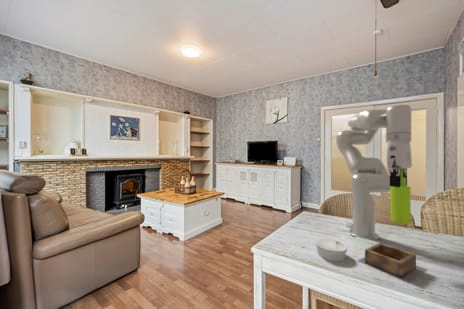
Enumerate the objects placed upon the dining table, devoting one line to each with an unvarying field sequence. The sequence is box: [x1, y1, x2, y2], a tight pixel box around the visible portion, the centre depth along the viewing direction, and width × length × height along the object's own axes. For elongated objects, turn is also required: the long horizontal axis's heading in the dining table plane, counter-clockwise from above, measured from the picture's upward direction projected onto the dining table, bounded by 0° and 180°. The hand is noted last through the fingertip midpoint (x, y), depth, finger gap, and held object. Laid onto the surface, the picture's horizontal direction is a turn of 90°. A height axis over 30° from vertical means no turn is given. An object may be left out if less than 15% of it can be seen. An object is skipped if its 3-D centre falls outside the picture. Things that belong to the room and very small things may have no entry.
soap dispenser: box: [386, 168, 412, 225], centre depth 80 cm, size 6×7×20 cm
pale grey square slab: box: [357, 256, 428, 284], centre depth 77 cm, size 16×15×1 cm
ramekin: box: [315, 238, 348, 262], centre depth 85 cm, size 11×11×5 cm
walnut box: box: [364, 242, 417, 279], centre depth 77 cm, size 11×11×5 cm
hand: (398, 185), depth 80 cm, fingers closed on soap dispenser, 5 cm apart
